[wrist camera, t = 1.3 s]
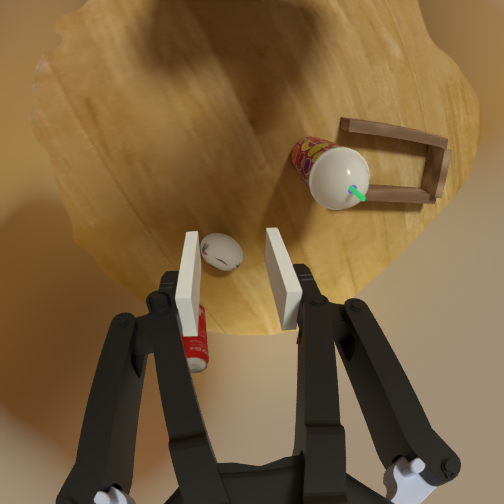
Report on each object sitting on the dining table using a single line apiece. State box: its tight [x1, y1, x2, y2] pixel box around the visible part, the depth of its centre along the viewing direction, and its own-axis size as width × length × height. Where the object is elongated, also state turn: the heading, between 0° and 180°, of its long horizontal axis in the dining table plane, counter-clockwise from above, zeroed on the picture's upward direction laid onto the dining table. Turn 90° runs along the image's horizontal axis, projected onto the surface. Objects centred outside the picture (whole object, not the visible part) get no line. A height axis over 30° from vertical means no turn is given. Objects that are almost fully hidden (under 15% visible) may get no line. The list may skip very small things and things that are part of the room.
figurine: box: [200, 233, 243, 271], centre depth 49 cm, size 8×6×7 cm
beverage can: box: [182, 304, 209, 373], centre depth 54 cm, size 6×6×15 cm
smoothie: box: [291, 137, 370, 210], centre depth 36 cm, size 8×8×20 cm
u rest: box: [340, 117, 451, 204], centre depth 44 cm, size 14×22×5 cm, turn 89°
